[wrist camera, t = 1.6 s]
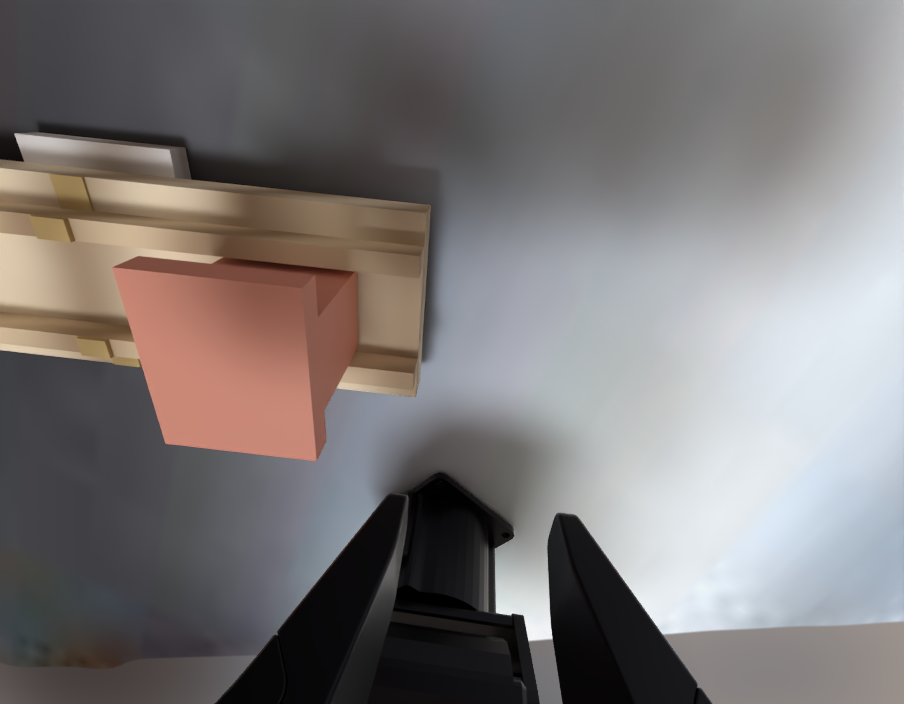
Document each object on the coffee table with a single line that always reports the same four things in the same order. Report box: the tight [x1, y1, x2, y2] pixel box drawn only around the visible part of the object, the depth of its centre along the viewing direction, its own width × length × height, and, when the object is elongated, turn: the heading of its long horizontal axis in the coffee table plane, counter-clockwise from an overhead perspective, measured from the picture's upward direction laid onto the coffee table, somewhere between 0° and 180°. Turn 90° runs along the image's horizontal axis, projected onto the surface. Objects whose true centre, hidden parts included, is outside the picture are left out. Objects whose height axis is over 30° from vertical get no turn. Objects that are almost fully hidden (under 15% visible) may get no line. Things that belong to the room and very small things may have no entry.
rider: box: [112, 256, 358, 461], centre depth 15 cm, size 5×6×5 cm
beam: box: [0, 132, 431, 397], centre depth 18 cm, size 26×10×4 cm, turn 85°
